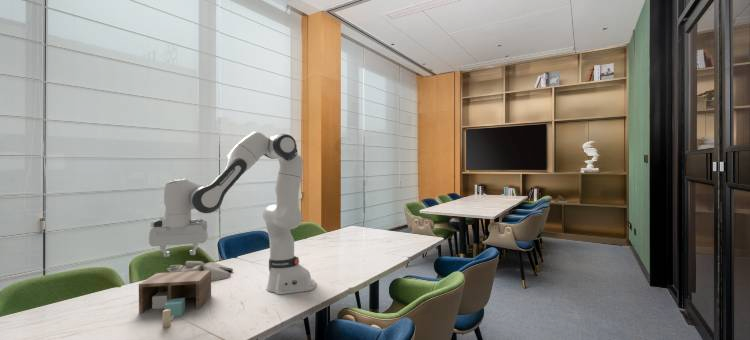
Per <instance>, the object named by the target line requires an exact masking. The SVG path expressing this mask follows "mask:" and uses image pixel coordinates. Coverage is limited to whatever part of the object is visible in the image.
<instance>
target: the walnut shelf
mask: <svg viewBox="0 0 750 340" xmlns="http://www.w3.org/2000/svg"><path fill="white" fill-rule="evenodd" d="M164 291H168V300H169V299H177V298H185V299H195V309H196V310H200V309H201V308H202V307H203V305H204V304H205V303H206V302H207V301H208V300H209V299H210V298H211V296H212V282H211V270H208V271H189V272H169V271H168V272H156V273H154V274H153V275H151V276H150V277H148V278H147V279H144V280H143V281H141V282H140V283H138V313H139V314H142V313H144V312H145V311H146V310H148V309H149V308H150V307H152V306H151V305H152V297H153V296H154V295H155V294H157V293H158V292H164Z"/></svg>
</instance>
